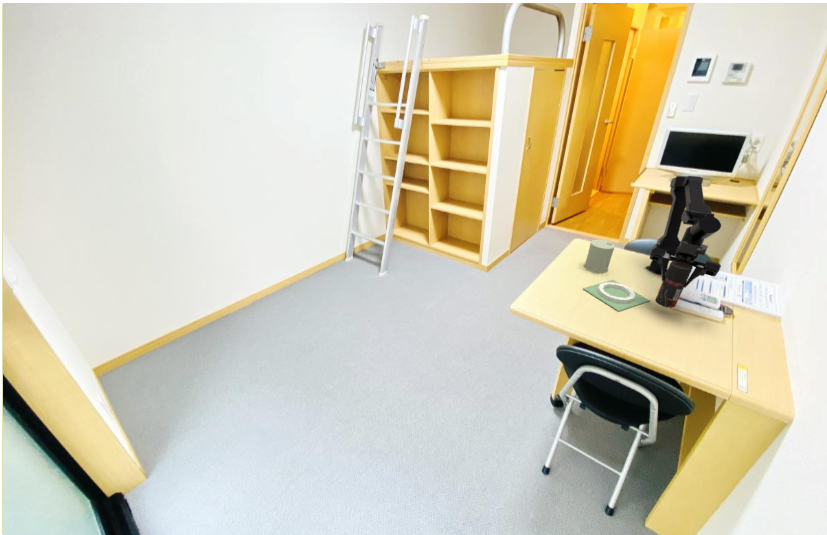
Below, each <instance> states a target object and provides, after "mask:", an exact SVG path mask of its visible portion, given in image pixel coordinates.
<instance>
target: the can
mask: <svg viewBox="0 0 827 535" xmlns="http://www.w3.org/2000/svg"><path fill="white" fill-rule="evenodd" d="M615 248H616V246H615V244H614V243H613V242H611V241H609V240H606V239H598V238H597V239H592V240H591V241H590V245H589V249H588V253H587V255H586V260H585V263H584V266H583V267H584V268H585V270H587V271H588V272H589V271H590V272H592V273H597V274H605V273H607V272H608V271H609V270H608V269H609V265H610V263H611V259H612V256H613V252H614V249H615Z"/></svg>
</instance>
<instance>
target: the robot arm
mask: <svg viewBox="0 0 827 535" xmlns="http://www.w3.org/2000/svg"><path fill="white" fill-rule="evenodd" d="M703 182H704V178H703V177H701V176H699V175H698V176H697V175H695V176H693V175H687V176H684V175H676V176H675V177H673V178H671V181H670V184H669V187H670V190H669V193H670V195H671V197H672V202H671V206H670V210H669V213H668V217H667V221H666V225H665V229H664V233H663V235H662V236H660V238H658V239H657V240H656V243H655V244H654V245H653V246H652V247H651V248H650V251H649V260H651V262H650V265H648V266H645V268H644V269H646V270H648V271H650V272H652V273H654V274H656V275H661V282H663V280H664V278H665V275H666V273H667V270H668V268H669V263H670V262H672V261H682V262H685V263H688V264H690V265H691V266H692V267H694V270H693V271H692V272H691V273H690V275H689V277H688V279H687V282H686V284H685V286H684V288H685V289H686V288H687V287H688V286H689V285H690V284H691V283H692V282H693V281H694V280H696V279H697V278H698V277H704V276H705V275H706V276H709V277H716V276H717V274H718V273H719V272H720V270H721V266H722V265H721V263H720V262H715V261H713V260H708V259H706V260H705V262H700V261H696V260H697V258H698V256H699V255H700V256H705V254H706V253H707V249H708V247H709V245H706V244H703V243H704V242H705V239H707V238H710V237H711V236H713V235H715V233H717V232H718V231H719V230H720V229H721V228H722V223H721V221H720V220H719V219H718V218H717V217H715V213H712V210H711V206H709V205H708V204H707V203H705V198H704V193H703ZM682 224H683V225H688V226H689V227H687V228H686V230H685V232H684V234H683V235H682V237H681V240H680V239H679V232H680V228H681V225H682ZM684 288H683V289H684Z"/></svg>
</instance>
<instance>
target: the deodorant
mask: <svg viewBox="0 0 827 535" xmlns="http://www.w3.org/2000/svg"><path fill="white" fill-rule="evenodd" d="M669 263H670V264H669V265H668V267H667V273H666V275H665V278H664V280H663V281H662V283H661V285H660V287H659V290H658V292H657V295H656V297H655V300H654V301H655V302H656V303H657V304H658V305H659V306H661V307H664V308H667V309H668V308H669V309H673V308H675V307H676V306H677V303H678V301H679V300H680V297H681V295H682V292H683V290H684V286H685V284H686V282H687V280H688V279H689V277H690V276H691V274H692V272H693V271H692V270H693V266H691V265H690V264H688V263H685V262H682V261H670V262H669Z"/></svg>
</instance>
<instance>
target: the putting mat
mask: <svg viewBox="0 0 827 535" xmlns="http://www.w3.org/2000/svg"><path fill="white" fill-rule="evenodd" d="M582 290H583V291H585V292H587V293H588V294H589V295H591V296H593V297H594V298H596V299H597V300H599V301H600V302H602V303H603V304H606V305H607V306H608V307H609V308H612V309H613V310H614V311H616V312H617V313H618V312H623V311H624V310H628V309H631V308H635V307H637V306H640V305H644V304H646V303H650V301H651V300H650V299H649V298H646V297H645V296H643V295H642V294H639V293H638V292H636V291H635V290H633V289H632V288H630V287H629V286H627V285H625V284H622V283H620V282H618V281H616V280H614V279H610V280H606V281H604V282H600V283H596V284H593V285H590V286H586V287H583V288H582Z"/></svg>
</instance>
